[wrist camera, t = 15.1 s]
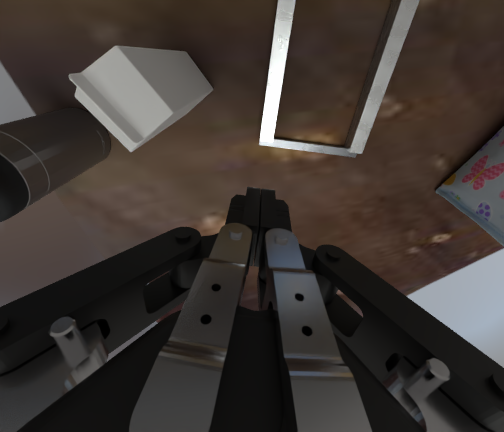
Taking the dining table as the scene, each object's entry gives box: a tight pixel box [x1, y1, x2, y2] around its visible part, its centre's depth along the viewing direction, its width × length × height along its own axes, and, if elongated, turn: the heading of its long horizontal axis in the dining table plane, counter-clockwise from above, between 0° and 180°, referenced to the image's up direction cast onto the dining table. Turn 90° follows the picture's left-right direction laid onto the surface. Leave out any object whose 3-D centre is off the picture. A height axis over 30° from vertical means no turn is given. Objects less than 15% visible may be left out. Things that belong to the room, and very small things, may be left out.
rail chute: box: [259, 0, 419, 157], centre depth 32 cm, size 16×25×3 cm, turn 174°
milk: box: [69, 46, 214, 152], centre depth 27 cm, size 6×6×22 cm
